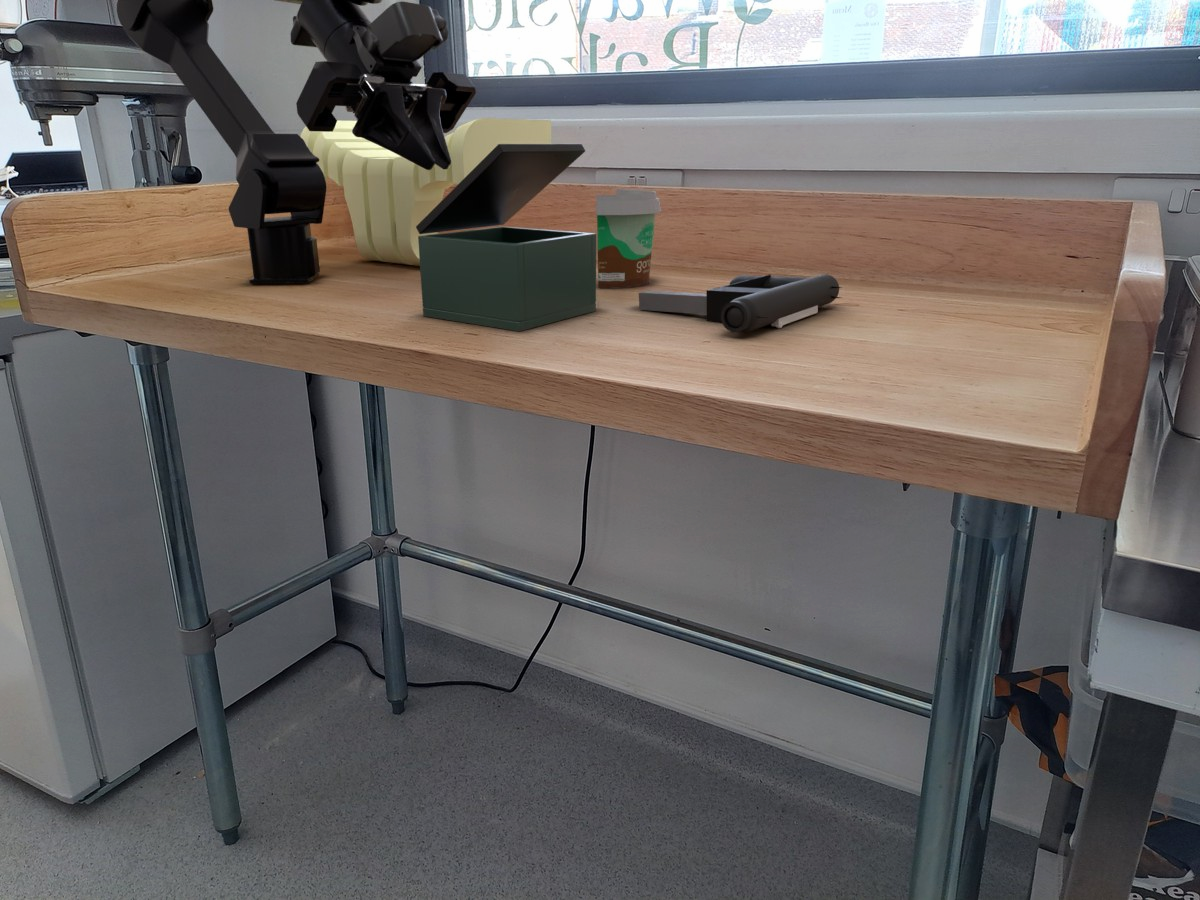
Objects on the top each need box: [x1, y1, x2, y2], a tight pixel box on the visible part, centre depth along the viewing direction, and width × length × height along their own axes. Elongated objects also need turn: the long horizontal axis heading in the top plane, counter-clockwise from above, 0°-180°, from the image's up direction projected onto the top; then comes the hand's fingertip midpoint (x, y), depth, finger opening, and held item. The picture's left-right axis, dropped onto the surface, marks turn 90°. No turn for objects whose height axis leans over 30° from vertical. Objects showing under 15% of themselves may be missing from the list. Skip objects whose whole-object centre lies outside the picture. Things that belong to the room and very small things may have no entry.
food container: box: [595, 188, 662, 289], centre depth 97 cm, size 12×6×10 cm, turn 168°
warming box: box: [418, 225, 597, 332], centre depth 80 cm, size 12×12×7 cm
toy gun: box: [638, 273, 842, 334], centre depth 81 cm, size 3×20×16 cm
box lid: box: [416, 143, 586, 234], centre depth 77 cm, size 12×12×1 cm
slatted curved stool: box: [299, 117, 552, 267], centre depth 113 cm, size 30×16×18 cm, turn 54°
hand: (440, 166), depth 81 cm, fingers closed
